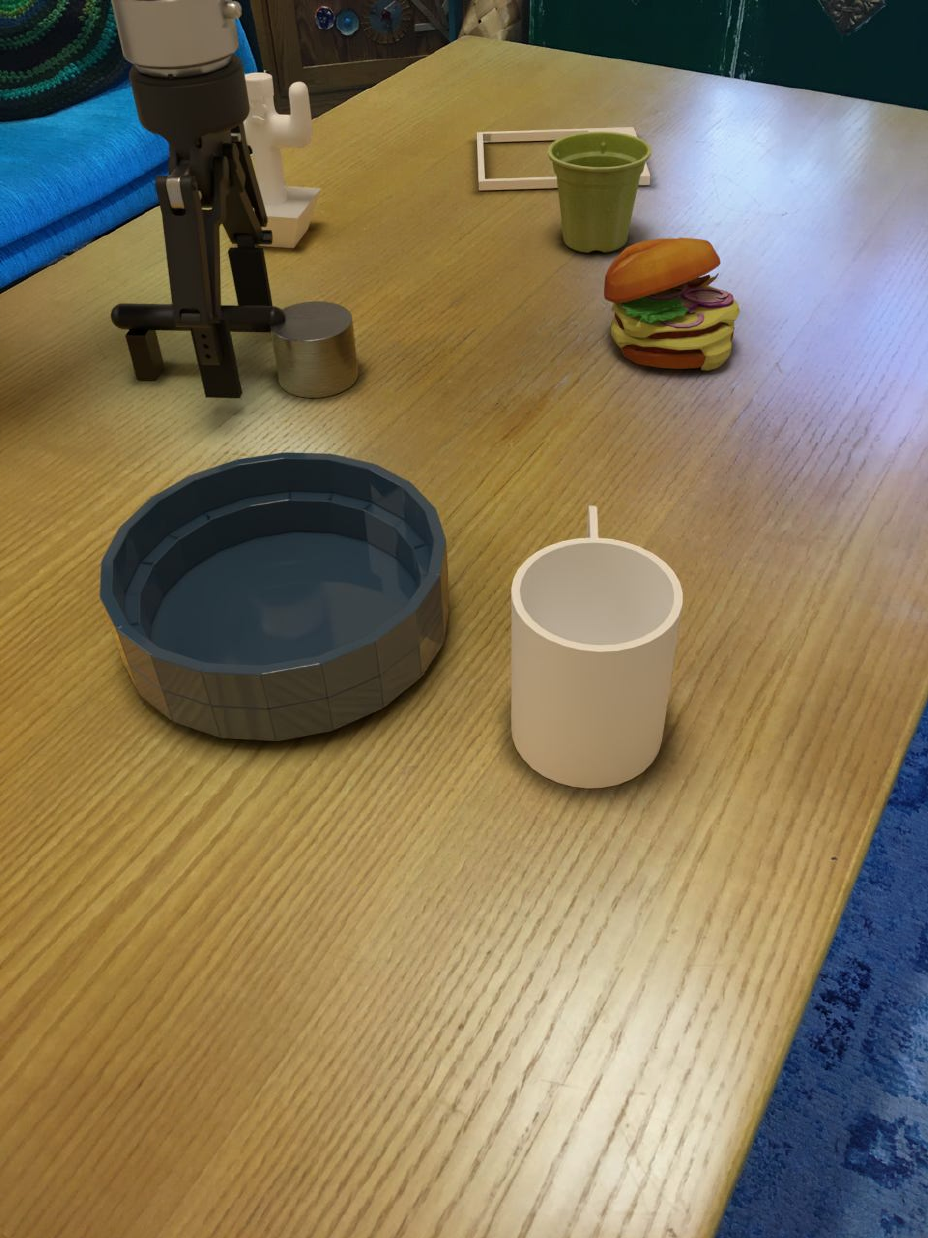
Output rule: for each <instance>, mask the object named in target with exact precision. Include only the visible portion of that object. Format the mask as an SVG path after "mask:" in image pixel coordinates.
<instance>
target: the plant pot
mask: <svg viewBox="0 0 928 1238" xmlns="http://www.w3.org/2000/svg"><path fill="white" fill-rule="evenodd" d="M651 155H652V147H651V145H650V144H649V143H648V142H647V141H646V140H644V139H643V138H640V137H638V136H637V137H635V136H632V135H628V134H621V133H617V132H585V133H578V134H573V135H569V136H566V137H562V138H560V139H558V140H553V141H552V142H551V144H550V145H549V146H548V148H547V157H548V159H549V160H550V161H551V162H552V168H553V172H554V174H555V177H557V185H558V188H557V193H558V201H559V202H558V203H559V210H560V211H559V212H560V220H561V231H562V238H563V242H564V245H566V246H567V247H568V248H570V249H572V250H574V251H577V252H581V253H587V254H589V253H591V252H593V251H599V252H602V253H610V252H613V251H616V250H619V249H621V248H622V247H624V246H625V245H626V244H627V241H628V237H629V232H630V227H631V223H632V222H631V221H632V216H633V211H634V207H635V203H636V202H635V201H636V198H637V192H638V188H639V185H638V184H639V179H640V175H641V174H642V172H643V170H644V166H645V162H646V163H647V161H648V160H649V159H650V157H651Z"/></svg>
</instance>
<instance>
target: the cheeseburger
mask: <svg viewBox="0 0 928 1238" xmlns="http://www.w3.org/2000/svg"><path fill="white" fill-rule="evenodd" d="M721 263H722V262H721V259H720V256H719V254H718V253H717V251H716V250H715V248H714V245H712V243H711V242H710V241H709V240H707V239H700V238H694V237H693V238H692V237H678V238H675V237H673V238H670V237H668V238H667V237H666V238H665V237H663V238H653V239H645V240H643V241H639V242H636V243H634V244H630V245H629V246H627V247H625V248H624V249H623V251H621V252H620V253H619V255H617V257H615V259H614V260H613V261H612V262H611V263H610V265H609V267H608V269H607V271H606V273H605V276H604V284H603V286H604V287H603V297H604V300H606V301H608V302H611V303H613V304H612V307H611V311H612V312H614V316H613V319H612V321H611V324H610V335H611V338H612V339H613V341H614V343H616V345H617V346H618V347H619V348H620V351H621V352H622V355H623V357H625V358H626V359H628V360H630V361H631V362H633V363H634V364H636V365H639V366H640V365H642V366H646V367H653V368H659V369H673V370H684V369H686V370H687V369H699V368H700V369H701V371H713V370H717V369H718V368H720V367H721V366H723V365H724V363H725V362H726V361H727V359H728V358H729V357H730V355H731V352H732V347H733V346H732V345H733V339H734V333H735V321H736V320H737V318H738V317H739V315H740V313H741V310H740V306H739V303H738V301H737V300H736V299H734V294H732V293H730V292H728V291H726V290H723V289H720V288H717V287H715V286H711V284H712V283H713V282H715V281H716V280H717V278H718V276H719V272H717V273H716V275H714V276H711V274H708V273H710V272H712V271H714V270H715V269H717V268H718V267H719V266H720V265H721Z"/></svg>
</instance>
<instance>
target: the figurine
mask: <svg viewBox="0 0 928 1238" xmlns="http://www.w3.org/2000/svg"><path fill="white" fill-rule="evenodd" d="M244 74H245V80H246V87H247V93H248V99H249V105H250V112H249V115H248V117H247V118H246V120H245V121H244V122H243V123H244V129H245V135H246V141H247V145H248V147H250V148H251V152H252V157H253V163H254V164H253V165H254V171H255V174H256V178H257V181H258V185H259V189H260V192H261V196H262V200H263V203H264V207H265V211H266V214H267V217H268V223H267V226H266V227H261V228H262V230H272V235H273V241H272V244H259V247H268V248H269V247H270V248H282V249H283V248H285V249H294V248H295V247H296V246H297V245H298V243H299V242H300V241H301V239H302V238H303V236H305V234H306V233H307V231H308V230H309V227H310V224H311V222H312V218H313V215H314V213H315V210H316V206H317V203H318V201H319V197H320V194H321V191H322V187H309V186H308V187H307V186H293V185H292V186H291V185H287V184H286V178H285V171H284V164H283V156H282V150H281V148H288V149H289V148H290V149H293V148H294V149H304V148H307V147H308V146H309V145H310V144H311V143H312V140H313V119H312V112H311V103H310V94H309V89H308V86H307V84H306V83H304V82H303V81H296V82H295V81H294V82H293V83H292V84H291V85H290V86H289V88H288V99H289V108H290V114H280V113H278V112H277V111H276V108H275V102H274V101H275V100H274V96H275V92H274V91H275V90H274V83H273V81H274V80H273V75H272V74H270V73H268V72H250V73H244ZM253 209H254V208H253Z"/></svg>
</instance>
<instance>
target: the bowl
mask: <svg viewBox="0 0 928 1238" xmlns="http://www.w3.org/2000/svg"><path fill="white" fill-rule="evenodd" d="M449 584H450V583H449V565H448V548H447V537H446V535H445V533H444V528H443V526H442V523H441V520H440V516H439V514H438V510H437V509H436V507H435V506H434V505H433V504H432V503H431V502H430V501H429V500H428V499H427V497H425V496H424V495H423V494H422V492H421V491H420V490H419V489H418V488H417V487H416V486H415V485H414V484H413V483H412V482H410V481H409V480H407V479H405V478H403V477H402V476H400V475H397V474H396V473H394V472H393V471H390V470H388V469H386V468H384V467H383V466H380V465H378V464H377V463H376V464H375V463H373V462H368V461H365V460H360V459H357V458H356V459H355V458H352V457H347V456H343V455H339V454H334V453H322V452H321V453H320V452H294V451H293V452H291V451H289V452H288V451H286V452H278V453H271V454H263V455H257V456H250V457H244V458H243V457H242V458H238V459H234V460H231V461H228V462H225V463H222V464H219V465H216V466H213V467H210V468H207V469H204V470H202V471H198V472H195V473H192V474H189V475H187V476H186V477H184V478H182V479H181V480H179V481H177V482H175V483H174V484H171V485H170V486H168V487H167V488H165V489H163V490H162V491H160V492H158V493H156V494H154V495H153V496H151V497H149V498H148V500H147V501H145V502H144V503H143V504H142V505H141V506H140V507H139V508H138V509H137V510H136V511H135V512H134V513H133V514H132V515H130V517H128V518H127V519H126V521H124V522H123V523H122V524H121V525H120V526H119V527H118V529H117V531H116V532H115V535H114V536H113V538H112V540H111V542H110V544H109V546H108V547H107V550H106V552H105V554H104V555H103V557H102V559H101V561H100V578H99V599H100V602H101V605H102V608H103V611H104V614H105V616H106V619H107V622H108V624H109V627H110V630H111V633H112V635H113V638H114V641H115V645H116V646H117V650H118V652H119V655H120V658H121V661H122V663H123V665H124V667H125V670H126V671H127V673H128V675H129V677H130V679H131V681H132V684H133V686H134V687H135V689H136V691H137V693H138V695H139V697H141V698H142V699H144V700H145V701H146V702H147V703H149V704H150V705H151V706H152V707H153V708H155V710H157V711H159V712H160V713H161V714H163V715H164V716H165V717H166V718H168V719H169V720H170V721H171V722H173V723H175V724H178V725H181V726H185V727H187V728H190V729H193V730H196V731H198V732H202V733H204V734H206V735H207V734H208V735H211V736H213V737H216V738H220V739H231V740H232V739H236V740H251V741H252V740H253V741H255V740H256V741H270V742H272V741H273V742H280V741H286V740H291V739H297V738H303V737H307V736H312V735H319V734H324V733H328V732H333V731H335V730H338V729H340V728H342V727H344V726H346V725H350V724H351V723H353V722H356V721H357V720H360V719H363V718H365V717H367V716H369V715H371V714H374V713H376V712H378V711H380V710H383V708H386V707H387V706H388V705H389V704H390V703H392V702H393V701H394V700H395V699H397V698H398V697H399V696H400V695H402V694H403V693H404V692H406V690H407V689H409V688H410V687H412V686H413V685H414V684H415V683H417V682H418V680H420V679H421V678H422V677H423V676H424V674H425V673H426V671H427V670H428V668H429V667H430V665H431V663H432V662H433V660H434V659H435V657H436V656H437V653H439V651H440V649H441V648H442V646H443V645H444V642H445V639H446V632H447V628H448V627H447V626H448V620H449V615H450V607H451V606H450V605H451V603H450V587H449Z"/></svg>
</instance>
